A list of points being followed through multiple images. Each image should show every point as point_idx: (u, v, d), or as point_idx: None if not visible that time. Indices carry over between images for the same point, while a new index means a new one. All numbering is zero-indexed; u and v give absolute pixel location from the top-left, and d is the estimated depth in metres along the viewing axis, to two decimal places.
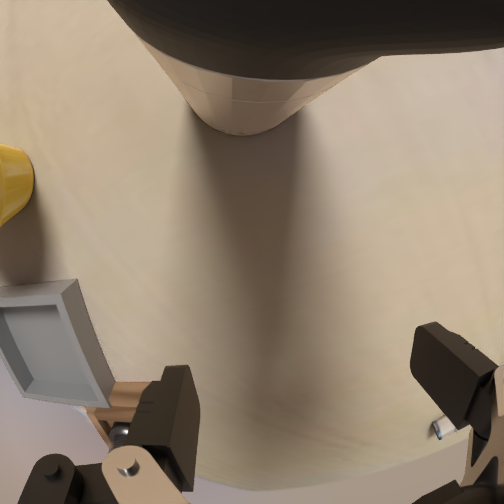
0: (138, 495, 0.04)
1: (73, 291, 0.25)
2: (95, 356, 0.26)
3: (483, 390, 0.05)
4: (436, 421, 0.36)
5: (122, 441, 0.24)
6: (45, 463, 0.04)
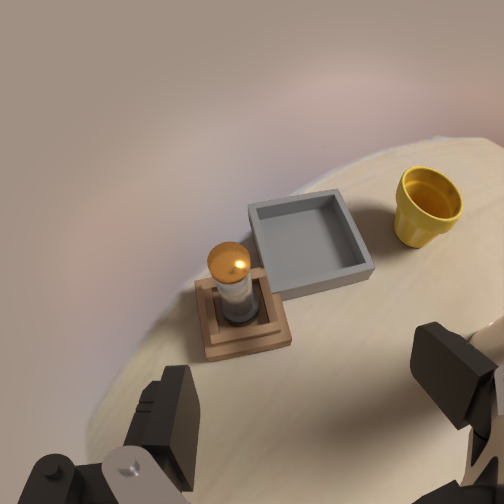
0: (138, 495, 0.04)
1: (365, 276, 0.39)
2: (316, 288, 0.38)
3: (483, 390, 0.05)
4: None
5: (253, 298, 0.32)
6: (45, 463, 0.04)
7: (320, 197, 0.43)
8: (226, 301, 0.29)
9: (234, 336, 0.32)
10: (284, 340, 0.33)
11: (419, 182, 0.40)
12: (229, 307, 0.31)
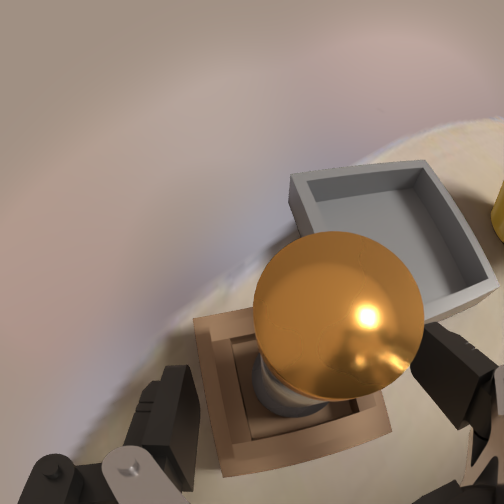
0: (138, 495, 0.04)
1: (480, 300, 0.19)
2: None
3: (483, 390, 0.05)
4: None
5: None
6: (45, 463, 0.04)
7: (404, 170, 0.24)
8: (285, 400, 0.10)
9: (285, 446, 0.13)
10: (378, 435, 0.14)
11: None
12: (285, 403, 0.11)
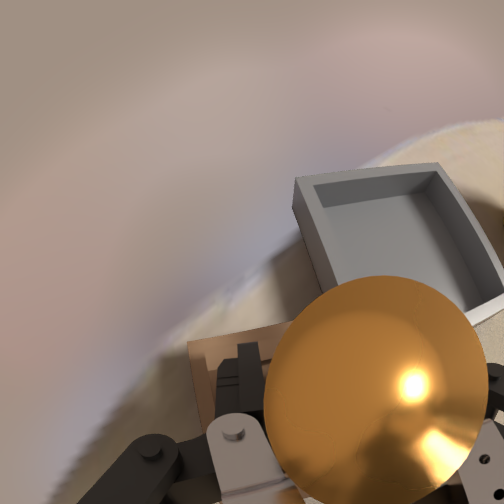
0: (256, 456, 0.05)
1: (496, 313, 0.17)
2: None
3: None
4: None
5: None
6: (146, 443, 0.05)
7: (417, 174, 0.22)
8: None
9: None
10: None
11: None
12: None
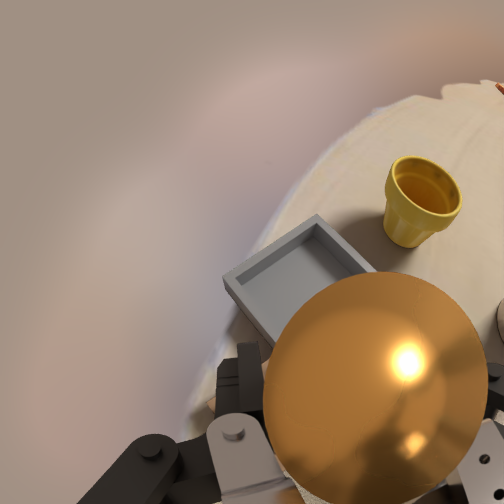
0: (256, 456, 0.05)
1: None
2: None
3: None
4: None
5: None
6: (146, 444, 0.05)
7: (302, 232, 0.35)
8: None
9: None
10: None
11: (401, 175, 0.36)
12: None
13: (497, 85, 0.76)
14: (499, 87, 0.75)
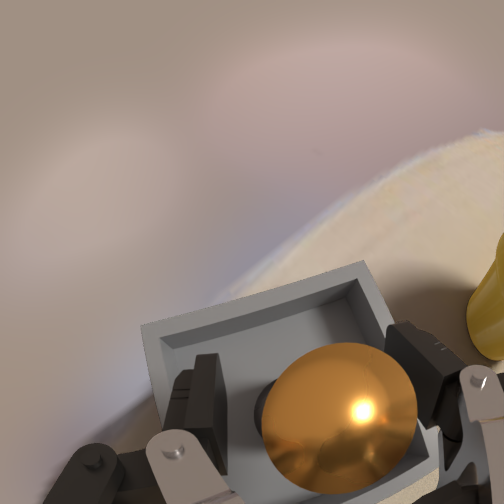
0: (188, 476, 0.04)
1: None
2: None
3: (449, 390, 0.06)
4: None
5: None
6: (86, 452, 0.05)
7: (323, 291, 0.17)
8: None
9: None
10: None
11: None
12: None
13: None
14: None
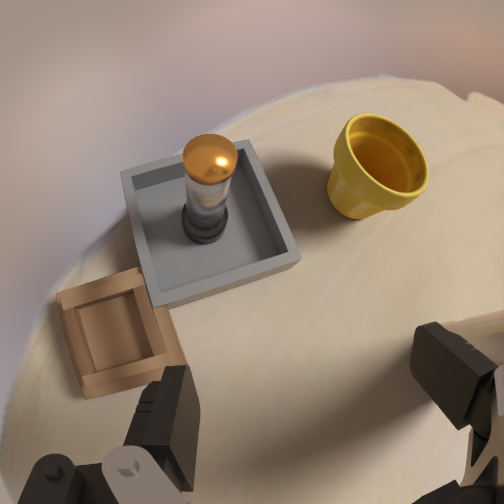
0: (138, 495, 0.04)
1: (288, 267, 0.29)
2: (217, 290, 0.27)
3: (483, 390, 0.05)
4: None
5: None
6: (45, 463, 0.04)
7: None
8: (195, 210, 0.24)
9: (110, 377, 0.21)
10: None
11: (366, 135, 0.30)
12: (197, 218, 0.25)
13: None
14: None
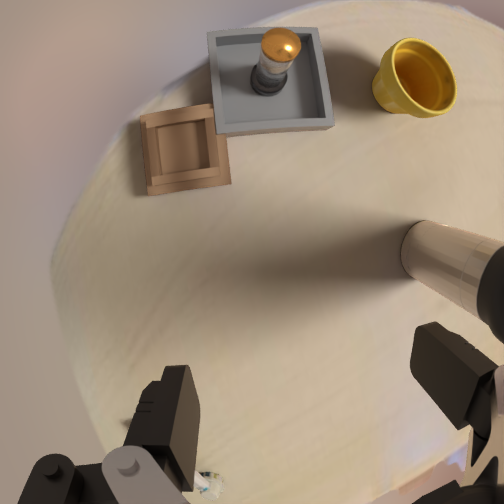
0: (138, 495, 0.04)
1: (323, 128, 0.35)
2: (266, 131, 0.34)
3: (483, 390, 0.05)
4: None
5: None
6: (45, 463, 0.04)
7: None
8: (263, 73, 0.28)
9: (174, 179, 0.32)
10: (223, 184, 0.34)
11: (415, 53, 0.28)
12: (262, 78, 0.29)
13: None
14: None
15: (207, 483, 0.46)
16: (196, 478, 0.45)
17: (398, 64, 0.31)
